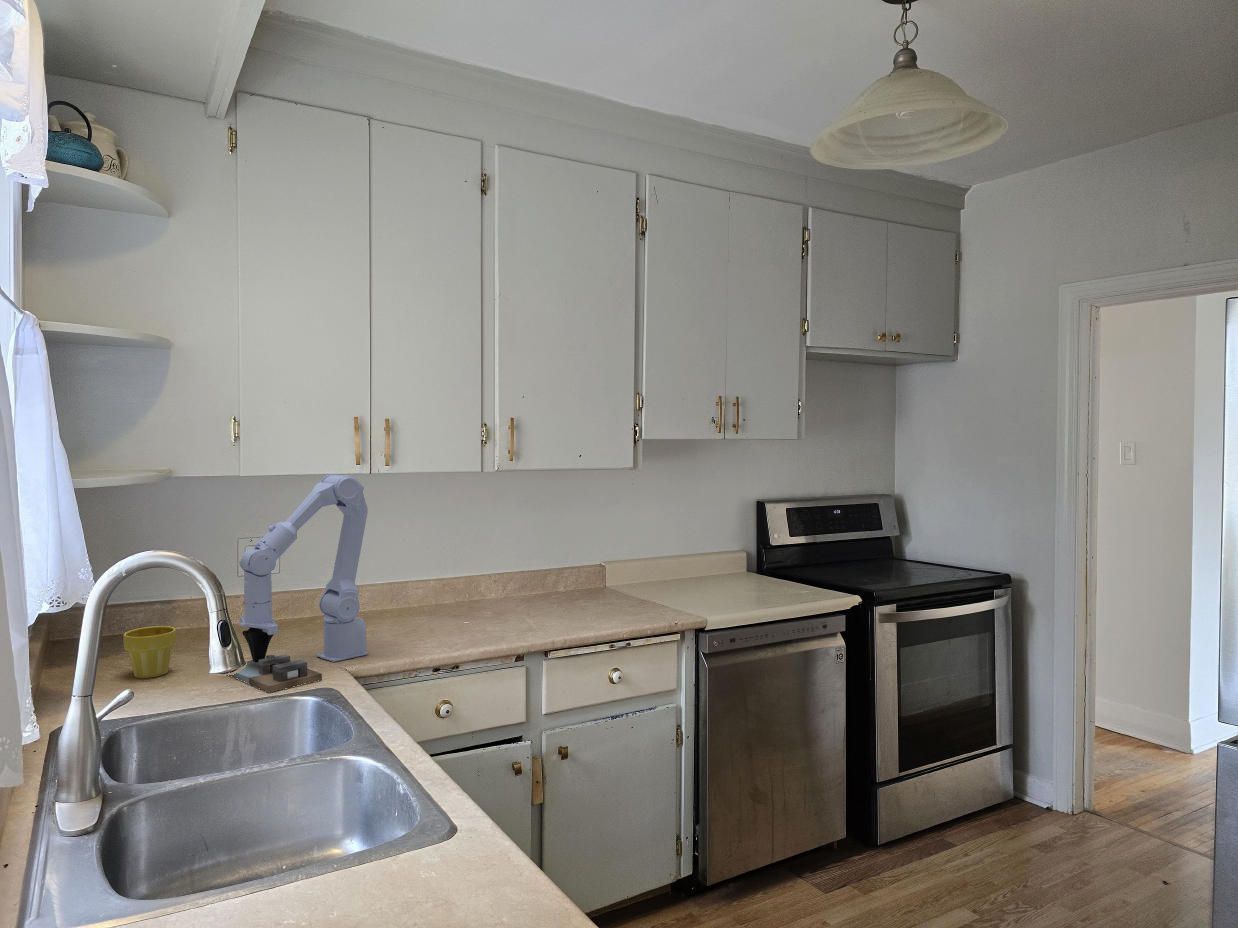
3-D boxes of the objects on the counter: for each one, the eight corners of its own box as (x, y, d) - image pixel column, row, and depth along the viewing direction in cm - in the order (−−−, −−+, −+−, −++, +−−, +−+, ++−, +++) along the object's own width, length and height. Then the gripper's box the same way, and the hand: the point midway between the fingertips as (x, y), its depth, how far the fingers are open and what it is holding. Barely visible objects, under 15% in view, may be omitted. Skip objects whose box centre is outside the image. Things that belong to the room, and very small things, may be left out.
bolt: (273, 667, 187) (273, 653, 186) (298, 676, 179) (298, 662, 179) (263, 669, 185) (263, 656, 185) (287, 679, 178) (287, 665, 177)
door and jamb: (273, 662, 197) (273, 643, 196) (321, 680, 182) (321, 660, 182) (222, 672, 187) (222, 653, 187) (268, 693, 173) (268, 671, 173)
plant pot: (117, 682, 180) (117, 637, 180) (131, 669, 190) (130, 627, 190) (171, 678, 183) (170, 634, 183) (181, 666, 193) (180, 624, 192)
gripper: (225, 599, 190) (226, 658, 190) (255, 608, 180) (256, 670, 181) (256, 595, 195) (257, 652, 196) (286, 603, 186) (287, 663, 186)
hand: (258, 660), depth 189 cm, fingers closed
